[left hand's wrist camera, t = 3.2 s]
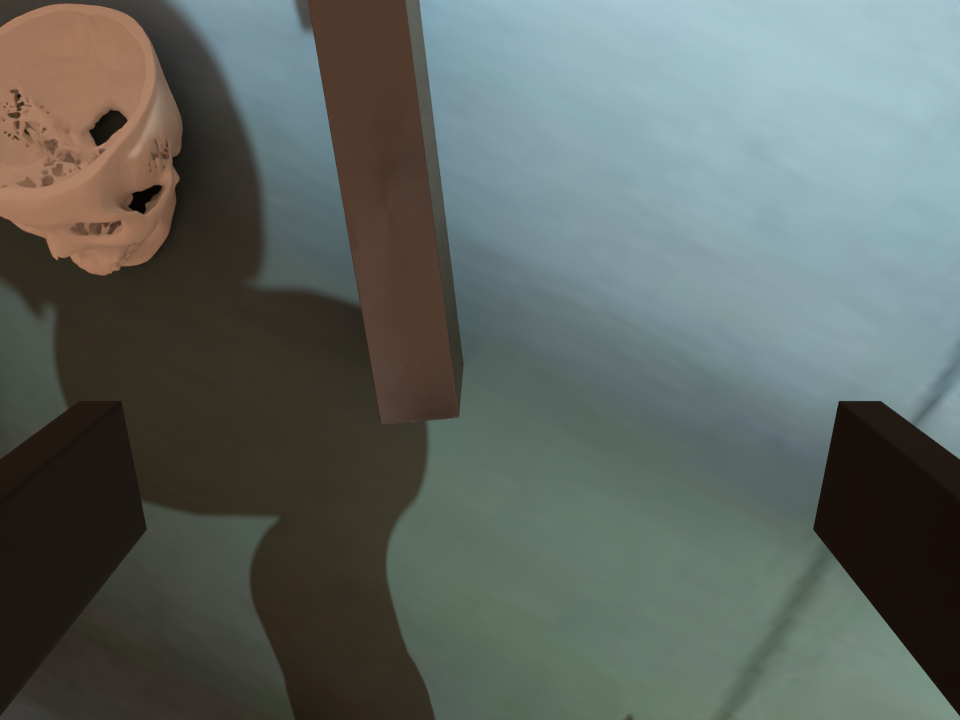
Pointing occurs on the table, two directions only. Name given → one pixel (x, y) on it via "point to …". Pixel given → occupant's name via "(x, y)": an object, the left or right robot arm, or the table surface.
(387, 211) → the bar
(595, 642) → the table surface
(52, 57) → the skull bowl
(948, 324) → the table surface
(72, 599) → the left robot arm
